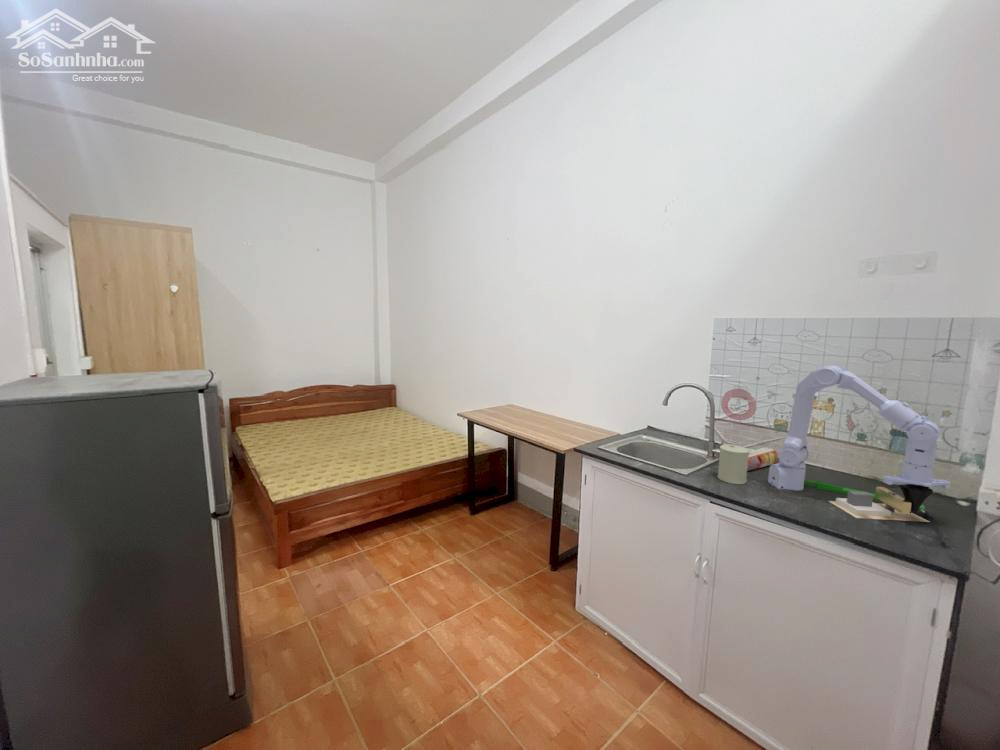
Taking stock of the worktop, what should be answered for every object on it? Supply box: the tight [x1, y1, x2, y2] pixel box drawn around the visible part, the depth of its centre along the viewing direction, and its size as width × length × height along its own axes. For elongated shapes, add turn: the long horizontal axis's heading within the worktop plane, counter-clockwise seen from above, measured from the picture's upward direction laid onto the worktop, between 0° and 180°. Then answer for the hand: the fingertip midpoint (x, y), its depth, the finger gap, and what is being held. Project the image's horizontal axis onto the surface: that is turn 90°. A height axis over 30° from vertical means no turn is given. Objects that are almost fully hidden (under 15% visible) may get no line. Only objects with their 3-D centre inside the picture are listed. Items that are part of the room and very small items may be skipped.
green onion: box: [804, 479, 926, 510], centre depth 126 cm, size 5×3×30 cm
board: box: [828, 500, 931, 523], centre depth 115 cm, size 19×11×3 cm, turn 84°
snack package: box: [747, 446, 779, 472], centre depth 155 cm, size 21×7×7 cm, turn 116°
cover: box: [835, 490, 891, 517], centre depth 115 cm, size 9×8×5 cm
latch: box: [874, 486, 912, 514], centre depth 114 cm, size 11×2×4 cm, turn 165°
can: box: [717, 444, 750, 485], centre depth 141 cm, size 9×9×12 cm
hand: (911, 510), depth 110 cm, fingers closed
